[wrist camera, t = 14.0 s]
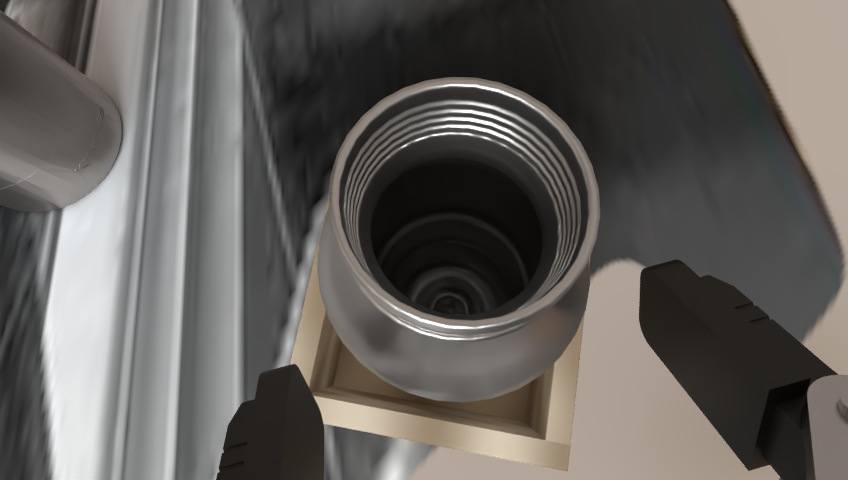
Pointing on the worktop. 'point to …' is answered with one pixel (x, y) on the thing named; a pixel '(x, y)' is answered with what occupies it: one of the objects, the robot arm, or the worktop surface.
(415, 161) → the silver bottle
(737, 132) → the worktop surface
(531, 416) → the wooden tray
